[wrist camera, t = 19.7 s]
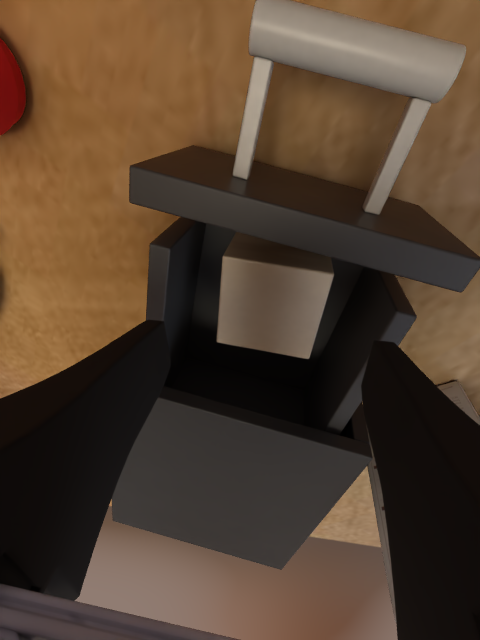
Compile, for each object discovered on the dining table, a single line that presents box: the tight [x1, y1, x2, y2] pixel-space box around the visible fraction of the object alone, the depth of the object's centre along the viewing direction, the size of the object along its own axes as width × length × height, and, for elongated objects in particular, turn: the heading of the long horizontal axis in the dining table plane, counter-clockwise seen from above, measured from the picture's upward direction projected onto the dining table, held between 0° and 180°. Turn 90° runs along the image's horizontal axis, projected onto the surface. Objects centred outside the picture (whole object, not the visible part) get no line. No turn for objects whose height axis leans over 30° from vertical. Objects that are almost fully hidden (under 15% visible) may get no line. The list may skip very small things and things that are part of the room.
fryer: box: [112, 386, 373, 570], centre depth 22 cm, size 15×13×9 cm
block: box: [216, 232, 334, 359], centre depth 15 cm, size 4×4×4 cm
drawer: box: [129, 0, 480, 435], centre depth 15 cm, size 18×11×7 cm, turn 168°
